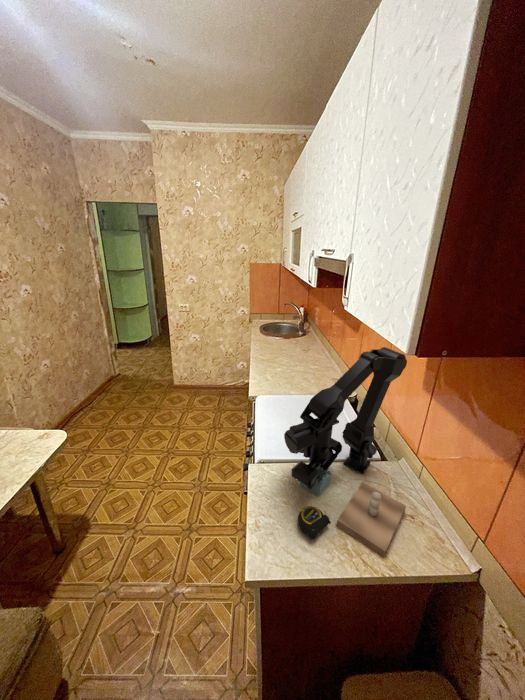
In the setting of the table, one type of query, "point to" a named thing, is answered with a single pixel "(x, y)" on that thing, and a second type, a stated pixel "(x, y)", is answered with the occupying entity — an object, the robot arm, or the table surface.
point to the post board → (372, 518)
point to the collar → (324, 481)
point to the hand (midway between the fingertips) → (315, 481)
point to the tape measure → (312, 521)
